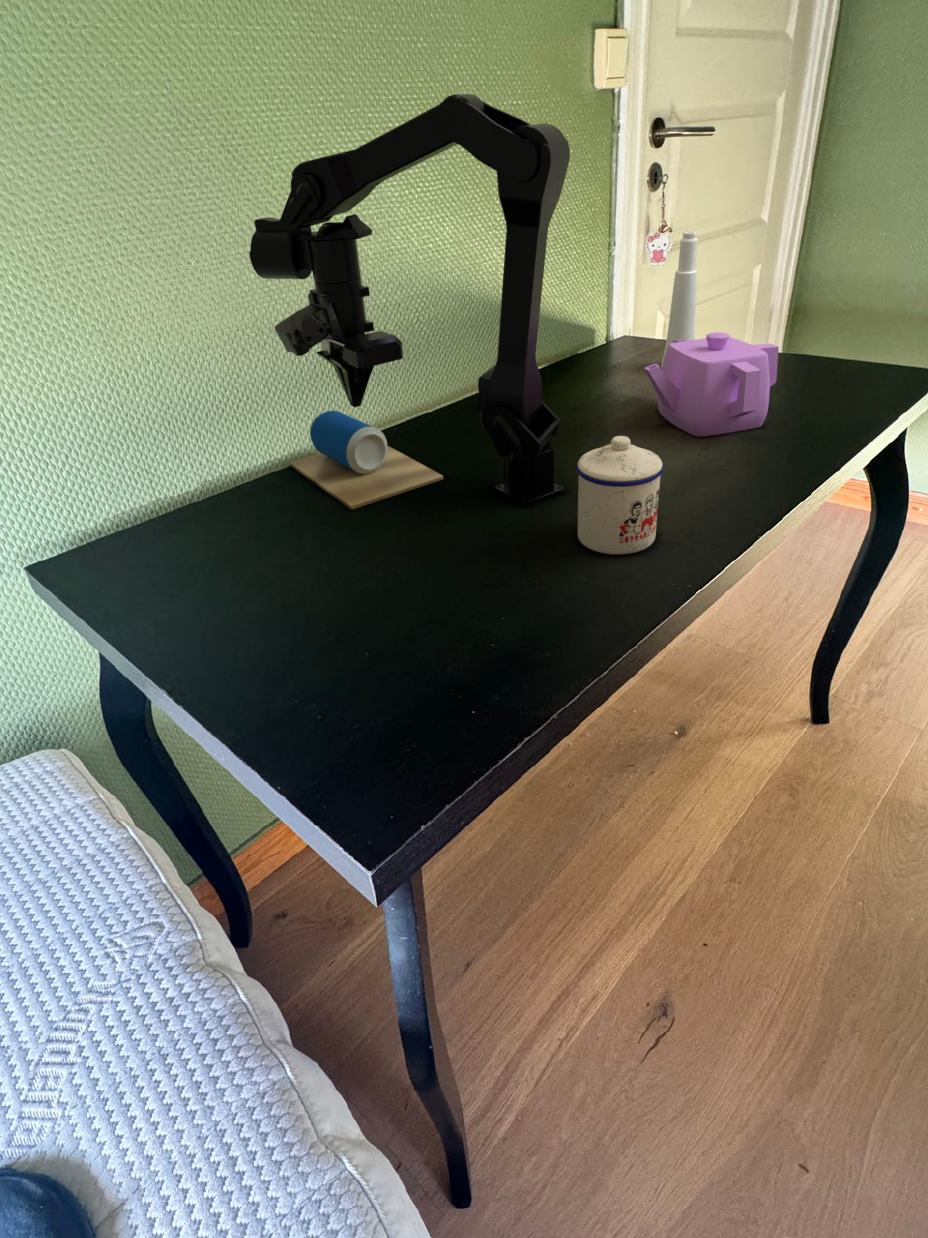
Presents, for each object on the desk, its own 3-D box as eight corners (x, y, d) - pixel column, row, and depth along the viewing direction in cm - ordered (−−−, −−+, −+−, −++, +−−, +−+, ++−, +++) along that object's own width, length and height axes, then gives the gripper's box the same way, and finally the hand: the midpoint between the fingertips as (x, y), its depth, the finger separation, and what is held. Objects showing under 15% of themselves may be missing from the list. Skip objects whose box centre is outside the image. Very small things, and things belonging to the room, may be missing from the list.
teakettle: (753, 444, 106) (766, 353, 99) (635, 430, 113) (640, 344, 106) (778, 406, 118) (792, 322, 111) (670, 395, 125) (676, 317, 118)
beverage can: (363, 419, 100) (319, 400, 108) (341, 464, 101) (299, 441, 109) (398, 440, 105) (353, 420, 113) (376, 482, 106) (334, 459, 114)
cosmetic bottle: (701, 365, 138) (716, 230, 125) (682, 374, 134) (695, 235, 122) (673, 360, 141) (684, 228, 129) (653, 368, 138) (663, 233, 126)
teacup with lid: (629, 565, 81) (635, 461, 74) (559, 542, 86) (559, 443, 80) (685, 523, 88) (695, 424, 81) (617, 504, 93) (622, 410, 87)
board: (443, 479, 103) (443, 475, 103) (351, 509, 97) (351, 506, 97) (373, 440, 117) (373, 437, 117) (289, 465, 111) (288, 461, 111)
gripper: (246, 281, 95) (272, 404, 104) (309, 301, 82) (332, 440, 91) (327, 267, 100) (345, 385, 109) (398, 284, 87) (411, 417, 96)
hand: (355, 406), depth 101 cm, fingers closed
